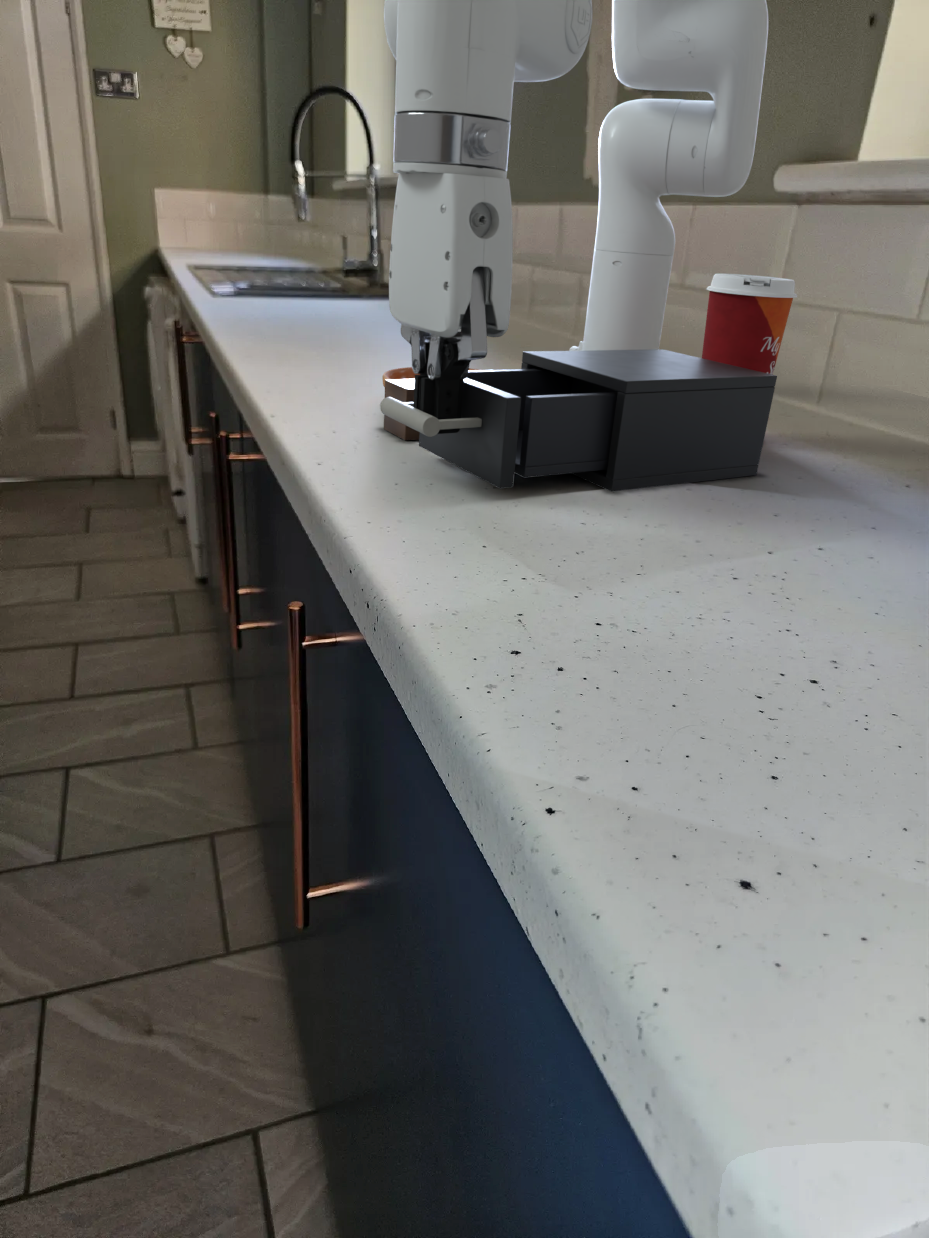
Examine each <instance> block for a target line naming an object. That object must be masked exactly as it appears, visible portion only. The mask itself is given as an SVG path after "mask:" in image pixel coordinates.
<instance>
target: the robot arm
mask: <svg viewBox="0 0 929 1238" xmlns="http://www.w3.org/2000/svg"><path fill="white" fill-rule="evenodd" d="M383 5H384V6H383V23H384V25H383V26H384V31H385V37H386V41H387V45H388V47H389V49H390V52H391V54H392V57H393V58H394V59H395V65H396V66H395V91H394V92H395V95H394V98H395V99H394V119H393V120H394V122H393V123H394V124H393V125H394V126H393V131H394V132H393V156H392V157H393V158H392V159H393V160H392V163H393V164H392V165H393V166H392V173H393V174H394V173H395V174H398V176H397V182H396V189H395V197H394V206H393V216H392V224H391V237H390V248H389V249H390V251H389V269H388V304H389V305H388V306H389V313H390V314H391V316H392V317H393V318H394V320H396V321H397V322H398V323H399V324H400V335H401V337H402V339H403V340H405V341H406V342H407V343H408V344H409V345H410V347H411V350H410V351H411V367H412V369H413V372H414V373H415V374H420V375H415V381H414V406H413V407H414V408H416V409H418V410H421V411H423V412H425V413H427V414H429V415H432V416H434V417H436V418H437V419H438V420H441V419H459V418H461V414H462V399H463V383H464V379H466V378H467V376H468V371H469V368H470V364H471V362H472V361H476V360H481V359H485V358H486V357H487V355H488V338H501V337H502V336H504V335H505V334H506V333H507V331H508V329H509V327H510V318H511V306H512V305H511V304H512V289H513V287H512V286H513V257H514V252H513V251H514V249H513V248H514V239H513V238H514V237H513V236H514V231H513V230H514V229H513V227H514V226H513V208H512V207H513V206H512V193H511V186H510V178H507V176H508V166H509V165H508V164H509V154H510V153H509V152H510V151H509V150H510V139H511V127H512V126H511V123H512V111H513V109H512V108H513V99H514V96H513V95H514V83H518V82H519V83H538V82H540V83H541V82H548V81H552V80H555V79H558V78H560V77H563V76H564V75H566V74H567V73H569V72H570V71H571V70H572V69H574V67H575V66H576V65H577V64H578V63H579V61H580V60H581V58H582V57H583V55H584V52H585V51H586V48H587V45H588V42H589V40H590V35H591V31H592V25H593V12H594V11H593V0H384V4H383ZM768 35H769V9H768V4H767V0H611V48H612V49H611V51H612V63H613V69H614V74H615V76H616V78H617V80H618V81H619V83H620V84H622V85H624V86H625V87H628V88H631V89H636V90H642V91H643V90H644V91H661V92H662V91H668V92H669V91H670V92H705V93H708V94H709V95H710V96H711V98H712V100H703V99H702V100H701V99H699V100H698V99H695V100H694V99H683V98H681V99H680V98H637V99H632V100H627V101H624V102H622V103H619V104H618V105H616V106H615V107H613V108H612V109H611V110H610V111H608V113H607V114H606V116H605V117H604V119H603V120H602V123H601V126H600V130H599V134H598V135H599V136H598V148H597V149H598V151H597V152H598V153H597V155H598V156H597V157H598V208H597V220H596V221H597V222H596V230H595V231H596V232H595V239H594V240H595V241H594V248H593V256H592V265H591V272H590V281H589V289H588V299H587V306H586V314H585V315H586V316H585V324H584V332H583V340H581V341H579V343H578V346H576V345H572V346H571V347H569V350H568V351H589V350H655V349H660V344H661V339H662V331H663V325H664V318H665V311H666V307H667V306H666V304H667V298H668V292H669V285H670V278H671V274H672V273H671V272H672V267H673V260H674V254H675V248H676V233H675V228H674V226H673V222H672V220H671V219H670V216H669V215H668V213H667V211H666V209H665V208H664V206H663V205H662V202H661V200H660V197H662V196H671V195H672V196H673V195H674V196H692V197H693V196H694V197H710V198H711V197H712V198H713V197H714V198H719V197H722V198H723V197H727V196H728V197H729V196H731V195H734V194H736V193H737V192H739V191H740V190H741V189H742V188H743V187H744V185H745V184H746V182H747V180H748V178H749V176H750V173H751V170H752V166H753V161H754V155H755V150H756V148H755V147H756V141H757V135H758V134H757V132H758V126H759V125H758V124H759V116H760V110H761V109H760V108H761V100H762V99H761V98H762V90H763V82H764V76H765V75H764V74H765V65H766V58H767V49H768V48H767V47H768ZM459 330H460V331H459ZM459 430H460V428H459V429H443V430H439V432H438V433H437V434H445V433H457V432H459Z"/></svg>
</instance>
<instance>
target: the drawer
mask: <svg viewBox="0 0 929 1238" xmlns="http://www.w3.org/2000/svg"><path fill="white" fill-rule="evenodd" d="M618 392H619V391H615V390H612V389H609V388H605V387H602V386H599V385H596V384H592V383H589V382H586V381H582V380H579V379H576V378H573V377H569V376H566V375H563V374H559V373H556V372H553V371H550V370H546V369H521V368H517V369H516V368H513V369H511V368H510V369H508V368H507V369H481V370H469V371H468V376H467V378H466V379H464V383H463V399H462V414H461V418H459V419H441V420H438V419H437V418H436V417H434V416H432V415H429V414H427V413H425V412H423V411H421V410H418V409H416V408H414V407H413V406H414V402H401V401H399V400H397V399H394V398H392V397H386V398H385V397H384V398H383V399H381V402H380V405H379V409H380V412H381V413H382V414H383V416H384V415H386V416H388V417H390V418H392V419H394V420H396V421H398V422H400V423H402V424H404V425H406V426H408V427H410V428H412V429H414V430H416V431H418V432H420V435H419V440H418V447H420V448H422V449H424V450H426V451H427V452H430V453H431V454H433V455H435V456H438V458H440V459H443V460H444V461H446V462H448V463H450V464H452V465H454V466H457V467H458V468H459V469H462V470H464V471H465V472H468V473H469V474H471V475H473V476H475V477H477V478H479V479H481V480H483V481H485V482H486V483H488V484H490V485H492V486H494V487H496V488H498V489H506V488H507V489H509V488H513V487H514V484H515V483H514V482H515V474H517V475H518V476H520V477H521V478H524V479H526V478H527V479H528V478H536V477H546V476H556V475H565V474H567V475H568V474H571V473H577V472H588V471H598V470H607V467H608V460H609V452H610V445H611V438H612V431H613V423H614V416H615V409H616V401H617V394H618ZM459 428H460V430H459V432H457V433H445V434H437V433H438V432H439V430H443V429H459Z"/></svg>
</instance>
